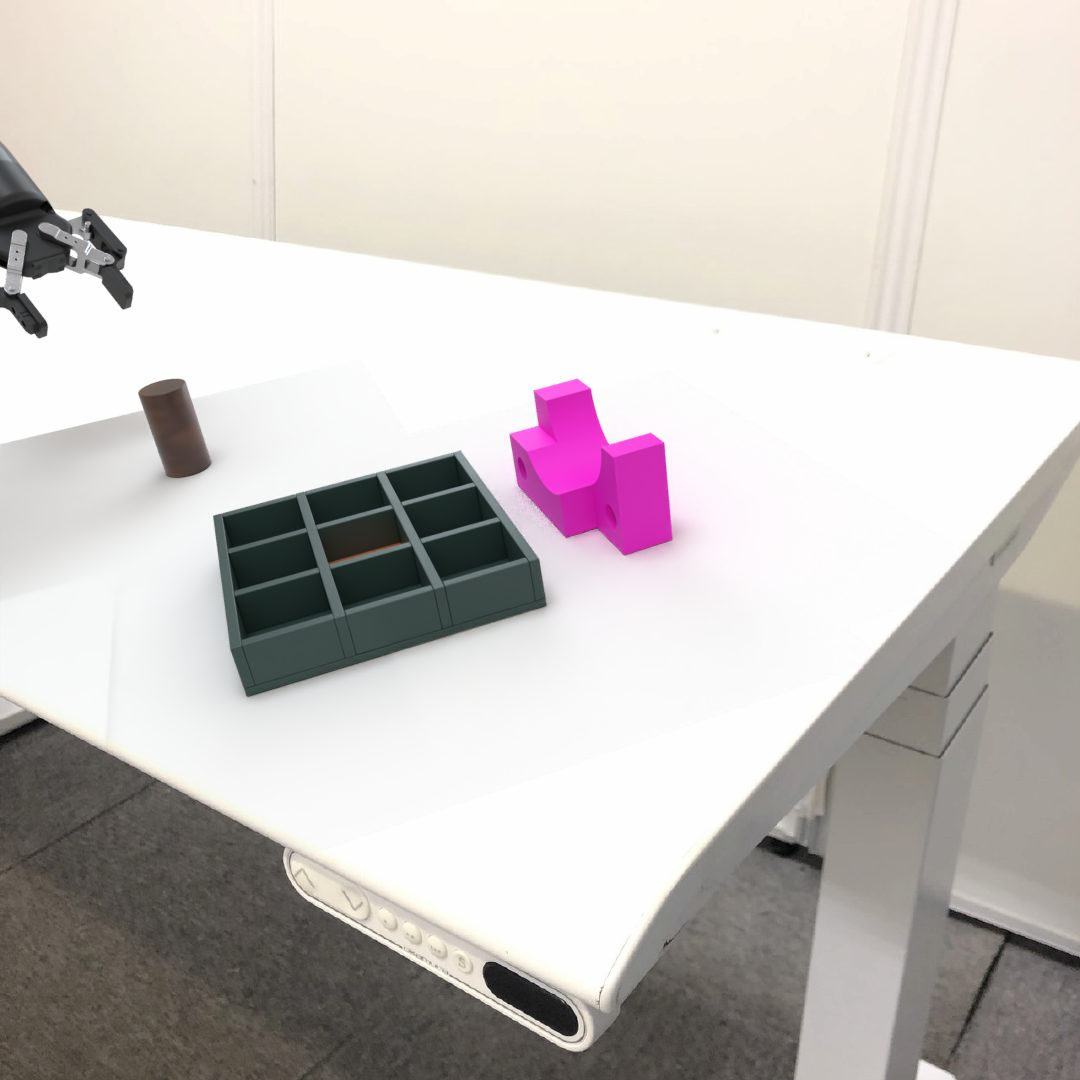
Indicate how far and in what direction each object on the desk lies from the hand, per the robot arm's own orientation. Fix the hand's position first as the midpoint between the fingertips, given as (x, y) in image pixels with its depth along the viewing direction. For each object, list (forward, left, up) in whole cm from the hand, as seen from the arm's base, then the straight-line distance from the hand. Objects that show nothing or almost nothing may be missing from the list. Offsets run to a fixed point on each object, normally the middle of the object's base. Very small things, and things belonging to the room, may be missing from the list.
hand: (87, 317), depth 96 cm
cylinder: (+5, -9, -13) cm, 17 cm away
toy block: (+34, -38, -14) cm, 53 cm away
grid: (+17, -39, -13) cm, 44 cm away
